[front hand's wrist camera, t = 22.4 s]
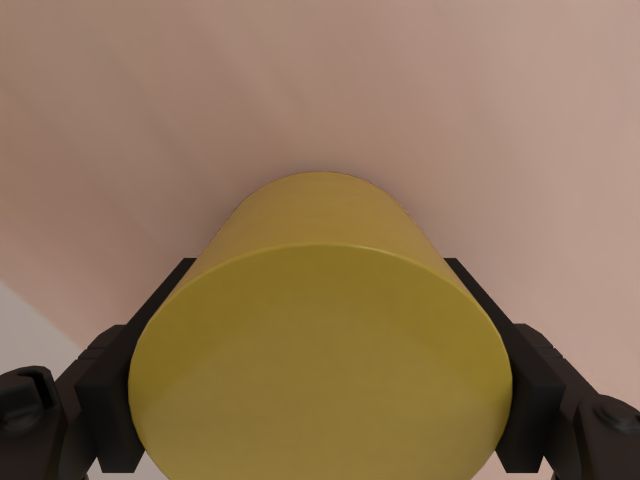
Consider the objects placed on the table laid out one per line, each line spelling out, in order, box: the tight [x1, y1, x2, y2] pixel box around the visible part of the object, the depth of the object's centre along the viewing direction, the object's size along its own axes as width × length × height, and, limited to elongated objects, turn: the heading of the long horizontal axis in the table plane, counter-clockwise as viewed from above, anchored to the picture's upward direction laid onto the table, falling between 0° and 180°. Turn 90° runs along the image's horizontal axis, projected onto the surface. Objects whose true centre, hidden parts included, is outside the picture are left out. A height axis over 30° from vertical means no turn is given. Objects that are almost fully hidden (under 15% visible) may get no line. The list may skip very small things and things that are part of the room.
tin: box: [128, 172, 512, 480], centre depth 12 cm, size 9×9×7 cm
